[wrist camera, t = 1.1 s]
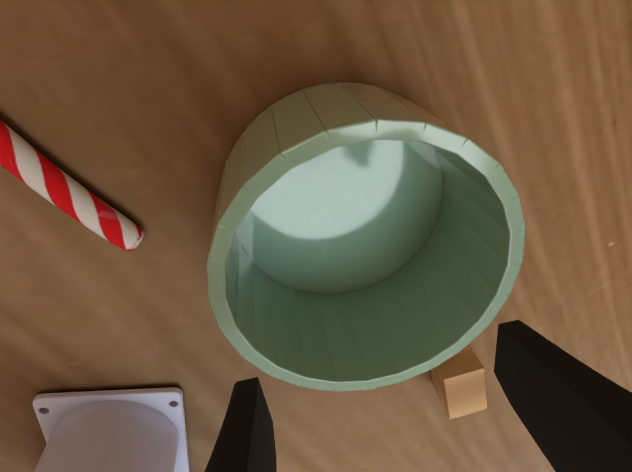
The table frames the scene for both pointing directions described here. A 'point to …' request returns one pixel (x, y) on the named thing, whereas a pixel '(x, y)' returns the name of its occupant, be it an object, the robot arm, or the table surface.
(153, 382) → the table surface
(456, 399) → the wooden block with disc
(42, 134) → the table surface
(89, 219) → the candy cane
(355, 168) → the green round bowl
